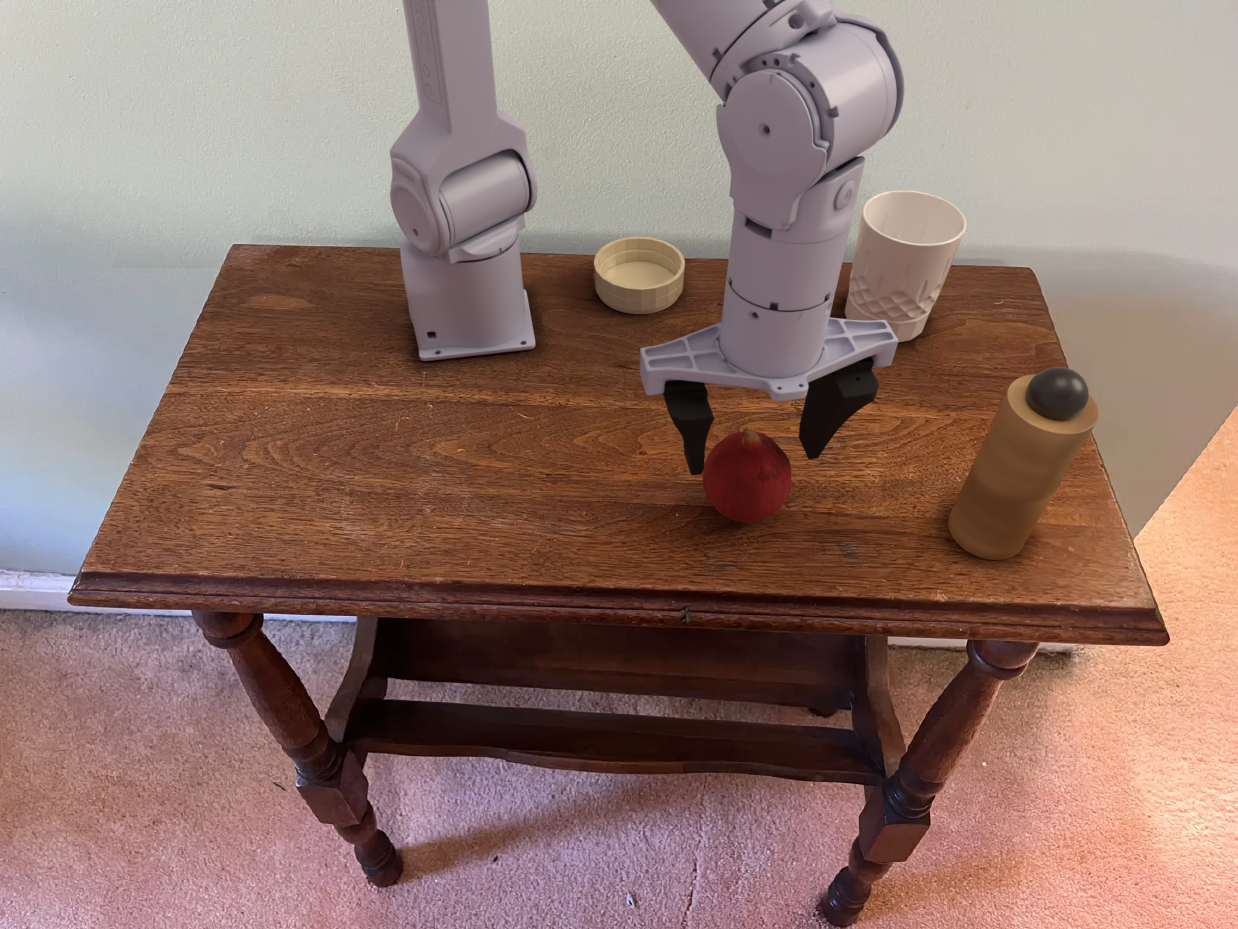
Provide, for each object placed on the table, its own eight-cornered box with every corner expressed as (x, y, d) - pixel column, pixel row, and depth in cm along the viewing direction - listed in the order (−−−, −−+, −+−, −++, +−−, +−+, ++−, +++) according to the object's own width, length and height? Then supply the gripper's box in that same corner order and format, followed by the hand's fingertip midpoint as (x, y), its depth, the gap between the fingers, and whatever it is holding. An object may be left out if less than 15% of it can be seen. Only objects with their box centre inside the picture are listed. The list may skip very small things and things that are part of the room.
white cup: (819, 306, 74) (841, 204, 67) (890, 282, 77) (919, 180, 69) (877, 359, 70) (908, 255, 62) (950, 331, 72) (988, 228, 65)
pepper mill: (967, 565, 56) (1049, 410, 45) (935, 507, 59) (1004, 350, 49) (1037, 554, 56) (1134, 399, 46) (1002, 497, 60) (1084, 340, 49)
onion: (781, 484, 61) (800, 403, 55) (784, 549, 57) (804, 469, 51) (700, 478, 61) (709, 396, 55) (697, 542, 57) (706, 462, 51)
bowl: (602, 320, 73) (602, 293, 71) (588, 267, 78) (587, 240, 76) (691, 310, 74) (694, 283, 72) (672, 258, 79) (673, 232, 77)
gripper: (661, 342, 41) (653, 519, 51) (944, 309, 43) (882, 487, 53) (634, 259, 46) (631, 436, 56) (890, 232, 47) (842, 409, 57)
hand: (751, 455), depth 54 cm, fingers open, 7 cm apart
